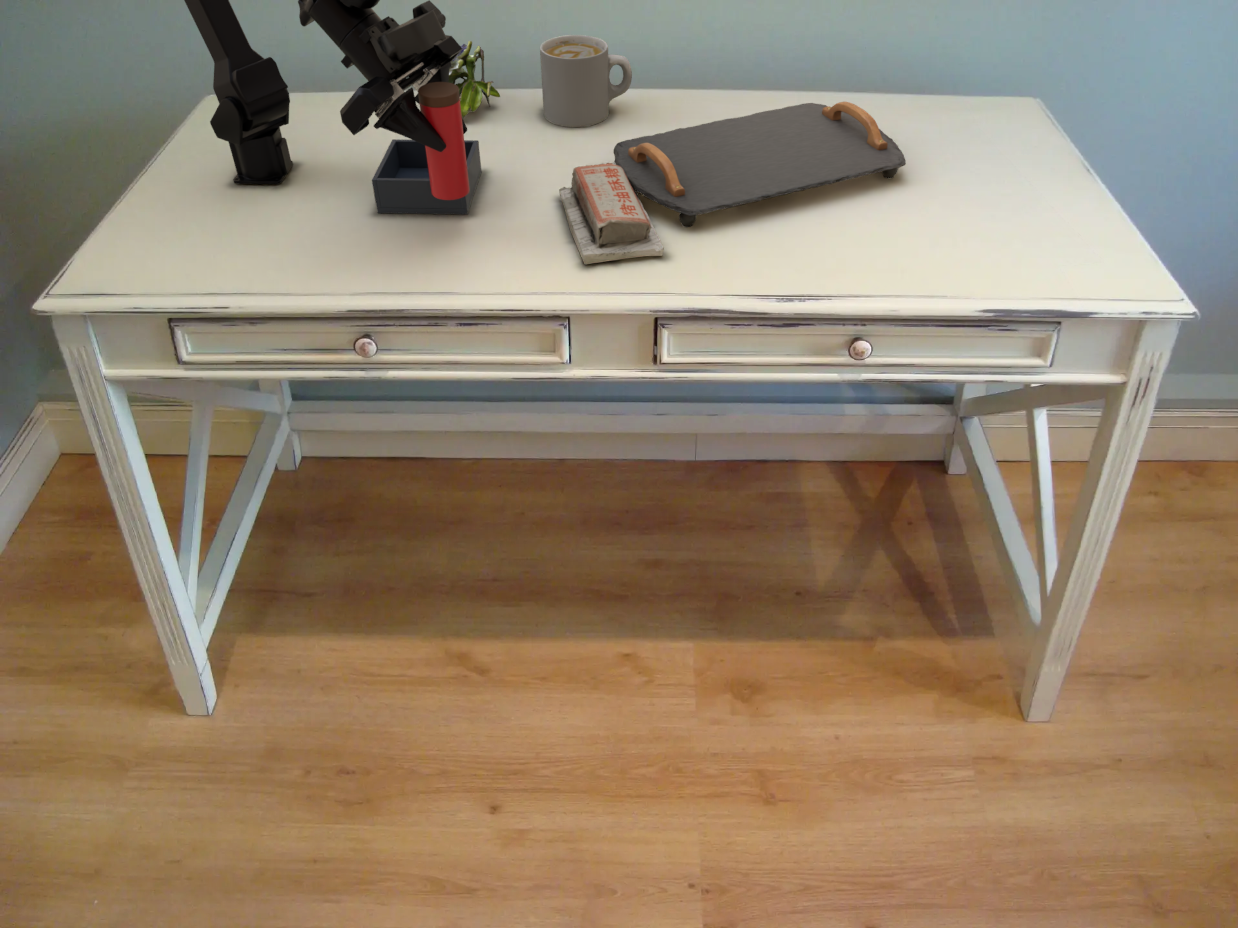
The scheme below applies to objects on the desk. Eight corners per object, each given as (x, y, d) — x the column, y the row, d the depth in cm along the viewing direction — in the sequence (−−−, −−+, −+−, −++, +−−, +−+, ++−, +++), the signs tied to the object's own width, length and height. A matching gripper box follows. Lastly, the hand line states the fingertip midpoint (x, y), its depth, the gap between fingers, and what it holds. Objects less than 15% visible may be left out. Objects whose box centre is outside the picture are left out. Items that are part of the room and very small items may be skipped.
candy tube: (428, 200, 122) (414, 97, 114) (435, 182, 126) (422, 81, 118) (466, 200, 122) (454, 97, 114) (472, 183, 126) (461, 82, 117)
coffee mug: (541, 127, 152) (537, 58, 145) (546, 100, 159) (542, 34, 152) (631, 127, 151) (631, 59, 145) (632, 101, 159) (632, 35, 152)
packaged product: (556, 164, 131) (632, 156, 133) (558, 198, 134) (631, 191, 136) (581, 230, 118) (665, 221, 119) (583, 267, 121) (664, 258, 123)
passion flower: (446, 137, 162) (435, 60, 161) (512, 126, 160) (501, 47, 159) (422, 122, 151) (410, 39, 150) (493, 110, 149) (481, 25, 148)
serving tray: (668, 240, 126) (669, 193, 122) (592, 165, 142) (591, 122, 138) (924, 178, 138) (933, 133, 134) (827, 116, 154) (833, 74, 150)
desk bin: (377, 213, 132) (371, 180, 129) (397, 171, 141) (392, 139, 138) (467, 214, 131) (463, 181, 128) (481, 172, 140) (478, 140, 137)
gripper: (344, 10, 103) (451, 133, 107) (438, -40, 116) (531, 71, 120) (296, 77, 111) (398, 189, 115) (389, 23, 124) (478, 126, 128)
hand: (454, 141), depth 119 cm, fingers closed on candy tube, 4 cm apart
